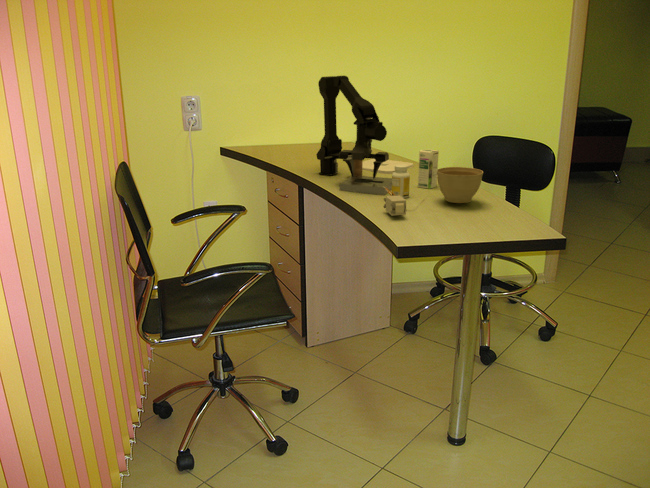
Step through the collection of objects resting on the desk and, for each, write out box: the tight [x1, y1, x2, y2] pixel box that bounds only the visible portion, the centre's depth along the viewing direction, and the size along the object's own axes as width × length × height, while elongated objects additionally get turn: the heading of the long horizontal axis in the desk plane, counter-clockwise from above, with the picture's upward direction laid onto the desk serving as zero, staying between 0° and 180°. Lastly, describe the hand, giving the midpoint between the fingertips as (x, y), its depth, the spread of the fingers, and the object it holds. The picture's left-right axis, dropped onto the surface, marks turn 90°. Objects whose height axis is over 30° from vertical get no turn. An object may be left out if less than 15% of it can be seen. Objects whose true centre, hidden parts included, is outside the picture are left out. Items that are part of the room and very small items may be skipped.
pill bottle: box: [391, 165, 411, 199], centre depth 225 cm, size 6×6×12 cm
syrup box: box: [417, 149, 440, 190], centre depth 240 cm, size 6×6×14 cm
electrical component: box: [383, 187, 407, 217], centre depth 213 cm, size 24×6×5 cm, turn 12°
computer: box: [362, 158, 414, 175], centre depth 274 cm, size 22×22×3 cm
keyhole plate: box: [338, 175, 392, 196], centre depth 239 cm, size 18×16×3 cm
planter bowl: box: [437, 166, 484, 204], centre depth 220 cm, size 16×16×11 cm
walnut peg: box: [350, 159, 364, 177], centre depth 252 cm, size 6×6×12 cm
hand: (363, 177), depth 239 cm, fingers open, 8 cm apart
